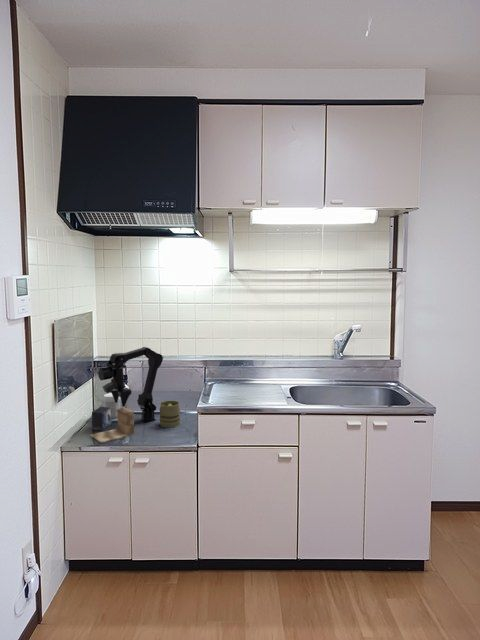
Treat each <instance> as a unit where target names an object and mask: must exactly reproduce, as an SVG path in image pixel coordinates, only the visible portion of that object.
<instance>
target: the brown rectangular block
mask: <svg viewBox="0 0 480 640" xmlns="http://www.w3.org/2000/svg"><path fill="white" fill-rule="evenodd" d="M117 417H118V421H117V430H118V431H120V432H121V433H123V434H125V435H126V436H128V435H133V434H135V418H134V417H135V416H134V410H131V409H130V408H127V407H123V408H122V407H121V409H117Z"/></svg>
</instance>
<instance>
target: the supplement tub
mask: <svg viewBox="0 0 480 640" xmlns="http://www.w3.org/2000/svg"><path fill="white" fill-rule="evenodd" d="M103 407H110V408H111V422H118V417H117V409H121V408H122V402H121V398H120V397H119V398H118V402H117V403H115V401H114V398H113V395H112V393H111V392H109V393H106V394H104V395H103Z"/></svg>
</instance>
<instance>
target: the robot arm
mask: <svg viewBox="0 0 480 640" xmlns="http://www.w3.org/2000/svg"><path fill="white" fill-rule="evenodd" d="M143 356H144V357H146V358H147V364H148V371H147V375H146V379H145V383H144V387H143V391H142V393H140V394H138V396H137V397H138V398H137V400H136V401H137V405H138V407H139V408H140V410H141V418H140V420H141V421H143V422H144V423H151V422H154V421H156V418H155V411H156V410H157V405H155V404H154V402H153V401H154V398H153V389H154V386H155V382H156V381H155V380H156V377H157V372H158V369H160V367H161V365H162V363H163V360H164V357H163V355H162V354H161V353H158V352H157V351H154V350H153V349H151V348H149V347H147V346H143V347H139V348H137V349H135V350H134V349H133V350H130V351H127V352H118V353H117V352H115V353H112V354H111V355H110V358H109V360H108V362H107V363H106V366H104V367H103V366H102V367H99V370H98V372H97V376H98V379H99V380H100V381H105V380H110V382H108V383H107V384H104V385H103V386H102V389H103V391H104V393H106V394H108V393H112V395H113V398H114V401H115V403H117V402H118V398H119V397H120V398H121V407H123V408H125V407H126V404H127V402H128V399H129V397H130V396H131V394H132V389H130V388H128V387H126V385H125V381H126V377H124V369H126V368H127V367H128V366H127V365H125V364H126V363H127V362H128V361H130V360H132V359H136V358H139V357H143Z"/></svg>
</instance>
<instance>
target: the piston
mask: <svg viewBox="0 0 480 640" xmlns="http://www.w3.org/2000/svg"><path fill="white" fill-rule="evenodd" d="M180 413H181V407H180V404H179V401H178V400H165V401H164V400H163V401H161V402H160V406H159V426H160V427H163V428H176V427H178V425H179V426H180V425H181V414H180Z"/></svg>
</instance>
